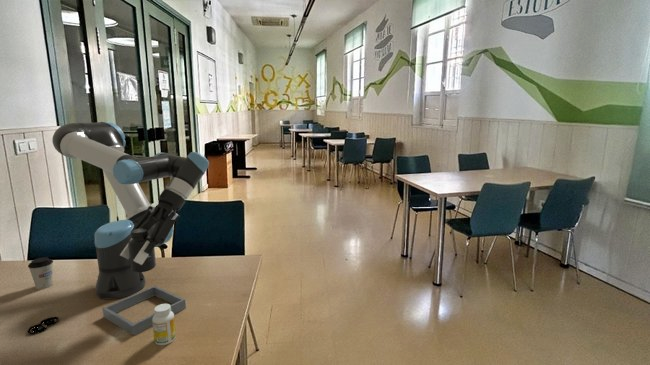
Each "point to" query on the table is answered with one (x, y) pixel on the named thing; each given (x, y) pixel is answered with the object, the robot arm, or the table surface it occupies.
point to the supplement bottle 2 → (163, 324)
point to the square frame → (145, 323)
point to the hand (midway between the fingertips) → (130, 259)
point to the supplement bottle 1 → (135, 246)
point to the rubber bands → (42, 326)
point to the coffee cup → (41, 272)
